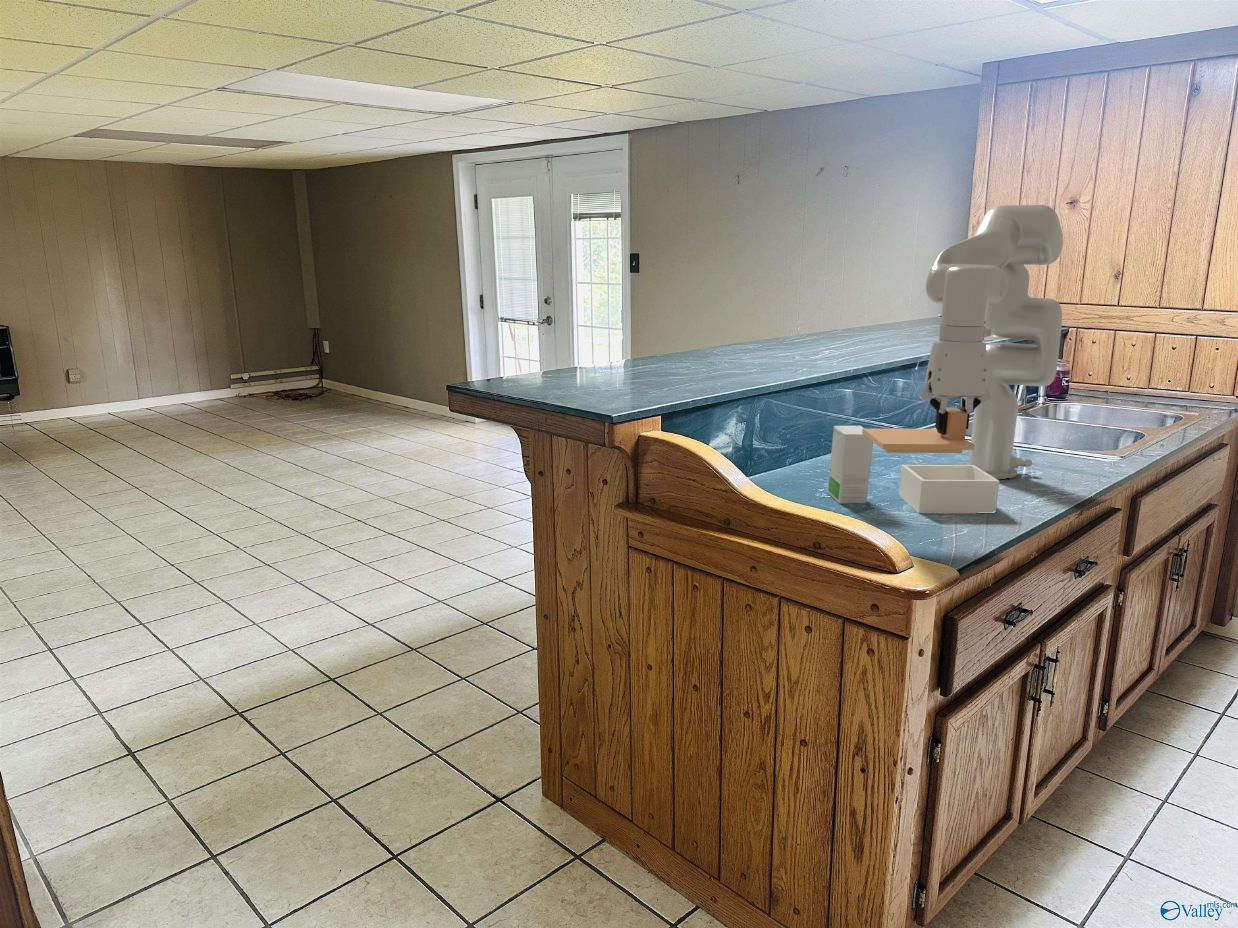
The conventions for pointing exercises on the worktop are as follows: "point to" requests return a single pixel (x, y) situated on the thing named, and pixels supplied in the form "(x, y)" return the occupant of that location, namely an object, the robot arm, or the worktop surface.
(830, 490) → the skincare box
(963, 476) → the tub
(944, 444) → the lid
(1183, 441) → the worktop surface
